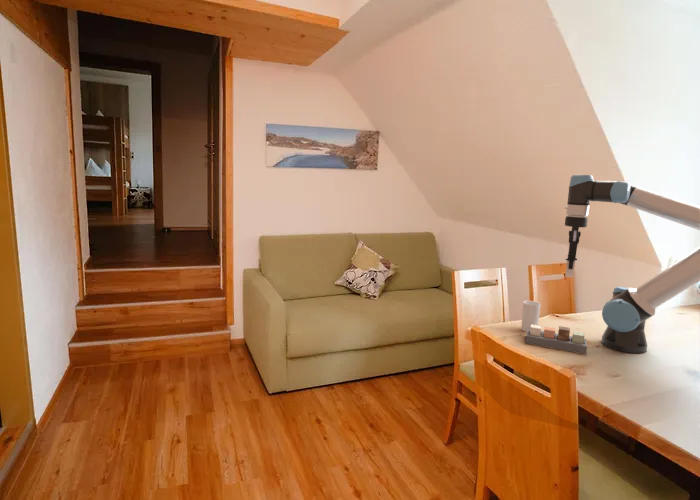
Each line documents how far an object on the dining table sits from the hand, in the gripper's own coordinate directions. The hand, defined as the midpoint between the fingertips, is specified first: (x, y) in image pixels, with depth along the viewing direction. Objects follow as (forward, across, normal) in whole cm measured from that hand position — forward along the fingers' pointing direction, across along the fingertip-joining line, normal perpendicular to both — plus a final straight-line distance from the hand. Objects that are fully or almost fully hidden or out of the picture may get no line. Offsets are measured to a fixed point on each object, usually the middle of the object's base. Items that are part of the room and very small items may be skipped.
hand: (569, 276), depth 168 cm
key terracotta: (+25, +5, -5) cm, 25 cm away
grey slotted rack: (+26, +5, -2) cm, 27 cm away
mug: (+27, -9, -12) cm, 31 cm away
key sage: (+24, +5, +5) cm, 26 cm away
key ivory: (+25, +5, -10) cm, 27 cm away
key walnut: (+23, +5, 0) cm, 24 cm away
